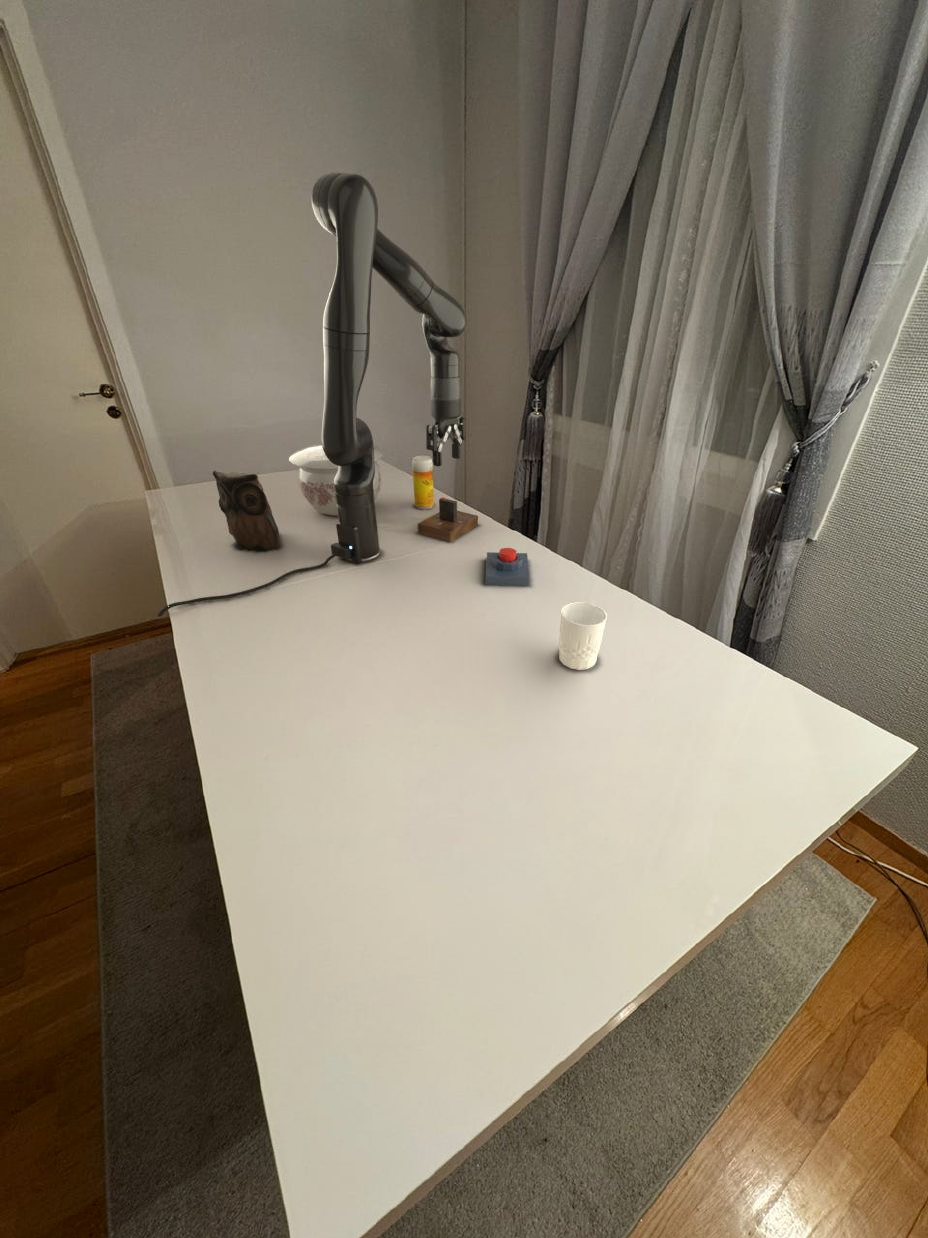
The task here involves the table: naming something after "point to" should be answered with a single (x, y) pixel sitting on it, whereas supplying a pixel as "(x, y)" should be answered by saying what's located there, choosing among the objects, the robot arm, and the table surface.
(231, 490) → the owl
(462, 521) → the dial panel
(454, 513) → the dial knob
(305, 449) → the chamber pot
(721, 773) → the table surface
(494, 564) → the button box
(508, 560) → the press knob
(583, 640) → the white cup
